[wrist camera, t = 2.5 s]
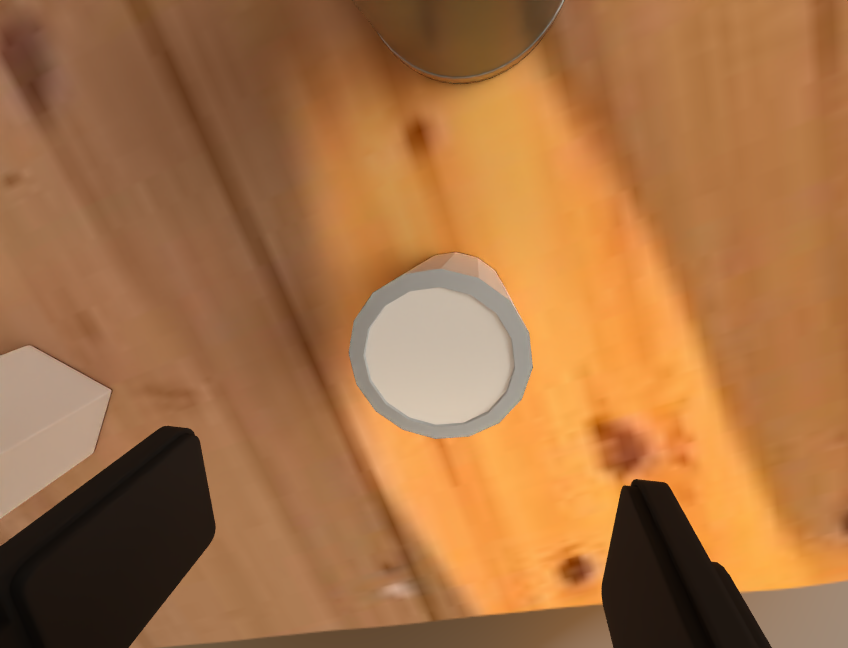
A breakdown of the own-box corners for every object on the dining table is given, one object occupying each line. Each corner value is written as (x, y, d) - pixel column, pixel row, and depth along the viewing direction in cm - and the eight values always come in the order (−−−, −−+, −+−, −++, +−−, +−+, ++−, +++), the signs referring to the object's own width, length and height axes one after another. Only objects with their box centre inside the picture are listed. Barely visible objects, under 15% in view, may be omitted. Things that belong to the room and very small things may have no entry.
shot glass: (388, 236, 21) (343, 264, 15) (527, 242, 21) (543, 274, 14) (389, 360, 24) (351, 431, 17) (514, 371, 23) (523, 450, 16)
